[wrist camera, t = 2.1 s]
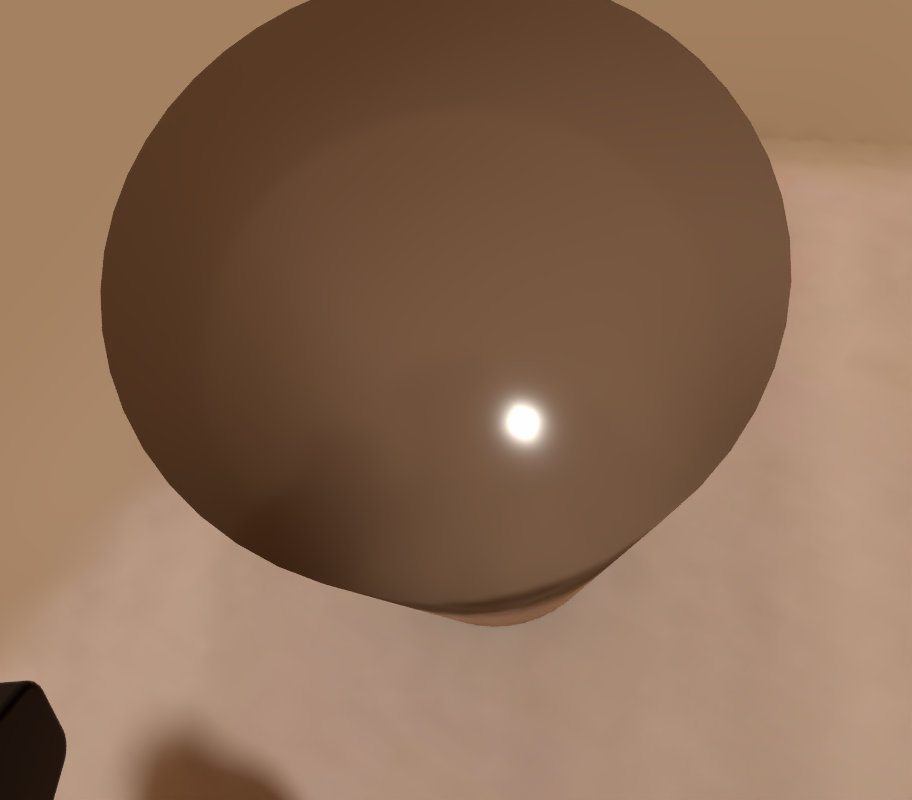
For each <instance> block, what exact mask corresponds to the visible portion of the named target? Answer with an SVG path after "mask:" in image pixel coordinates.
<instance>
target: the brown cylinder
mask: <svg viewBox="0 0 912 800" xmlns="http://www.w3.org/2000/svg"><path fill="white" fill-rule="evenodd" d="M790 287H791V262H790V237H789V232H788V226H787V221H786V216H785V210H784V205H783V199H782V195H781V192H780V189H779V187H778V184H777V181H776V178H775V175H774V172H773V169H772V166H771V163H770V160H769V158H768V156H767V154H766V152H765V150H764V148H763V146H762V144H761V142H760V140H759V138H758V136H757V134H756V132H755V130H754V128H753V126H752V124H751V122H750V121H749V120H748V118H747V117H746V115H745V114H744V112H743V111H742V110H741V108H740V107H739V105H738V104H737V102H736V101H735V99H734V98H733V97H732V95H731V94H730V92H729V91H728V90H727V88H726V87H725V86H724V85H723V84H722V83H721V82H720V81H719V80H718V79H717V77H715V75H714V74H713V73H712V72H711V71H710V70H709V69H708V68H707V67H706V66H705V64H704V63H702V61H701V60H700V59H699V58H697V57H696V56H695V55H694V54H693V53H691V52H690V51H689V50H688V49H687V48H685V47H684V46H683V45H682V44H680V43H679V42H678V41H677V40H676V39H675V38H673V37H672V36H671V35H670V34H668V33H667V32H665V31H664V30H662V29H661V28H659V27H658V26H656V25H654V24H653V23H651V22H650V21H648V20H647V19H645V18H643V17H642V16H640V15H639V14H637V13H635V12H634V11H632V10H629V9H627V8H625V7H623V6H621V5H619V4H617V3H615V2H612V1H611V0H310V1H308V2H305V3H303V4H301V5H299V6H296V7H294V8H292V9H290V10H288V11H286V12H284V13H283V14H281V15H279V16H277V17H276V18H274V19H272V20H270V21H268V22H267V23H265V24H264V25H261V26H260V27H258V28H256V29H255V30H253V31H252V32H251V33H249V34H248V35H246V36H245V37H244V38H242V39H241V40H240V41H238V42H237V43H235V44H234V45H233V46H231V47H230V48H229V49H227V50H226V51H224V52H223V53H222V54H221V55H220V56H219V57H218V58H216V60H214V61H213V62H212V63H211V64H210V65H209V66H208V67H206V68H205V69H204V70H203V71H202V72H201V73H200V74H199V75H198V76H197V77H195V78H194V80H193V81H192V82H191V83H190V84H189V85H188V86H187V88H186V89H185V90H184V91H183V92H182V93H181V94H180V95H179V96H178V98H177V99H176V100H175V101H174V102H173V103H172V104H171V106H170V107H169V108H168V109H167V111H166V112H165V114H164V115H163V116H162V118H161V119H160V121H159V122H158V124H157V125H156V126H155V128H154V129H153V131H152V132H151V134H150V135H149V137H148V138H147V139H146V141H145V143H144V145H143V147H142V149H141V151H140V152H139V154H138V156H137V158H136V160H135V162H134V164H133V166H132V168H131V169H130V171H129V173H128V175H127V178H126V180H125V183H124V186H123V188H122V191H121V194H120V196H119V199H118V202H117V205H116V207H115V210H114V212H113V217H112V221H111V225H110V229H109V234H108V238H107V242H106V246H105V251H104V260H103V272H102V281H101V311H102V331H103V337H104V342H105V347H106V353H107V358H108V363H109V369H110V373H111V376H112V378H113V381H114V384H115V387H116V390H117V393H118V396H119V399H120V402H121V405H122V408H123V410H124V412H125V414H126V416H127V418H128V420H129V422H130V424H131V426H132V428H133V430H134V432H135V434H136V435H137V437H138V439H139V441H140V443H141V445H142V447H143V449H144V450H145V452H146V453H147V454H148V456H149V457H150V458H151V460H152V461H153V463H154V464H155V465H156V467H157V468H158V469H159V471H160V472H161V474H162V475H163V476H164V478H165V479H166V481H167V482H168V483H169V484H170V485H171V486H172V487H173V488H174V489H175V491H176V492H177V493H178V494H179V495H180V496H181V497H182V498H183V499H184V500H185V501H186V502H187V503H188V504H189V505H190V506H191V507H192V508H193V509H194V510H195V511H196V512H197V513H198V514H199V515H200V516H201V517H203V518H204V519H205V520H206V521H208V522H209V523H210V524H212V525H213V526H214V527H216V528H217V529H218V530H220V531H221V532H222V533H224V534H225V535H226V536H228V537H229V538H230V539H232V540H233V541H234V542H235V543H237V544H239V545H240V546H242V547H244V548H246V549H248V550H249V551H251V552H253V553H255V554H257V555H258V556H260V557H262V558H264V559H266V560H267V561H269V562H271V563H273V564H275V565H276V566H278V567H281V568H284V569H286V570H289V571H291V572H294V573H297V574H299V575H302V576H305V577H307V578H310V579H312V580H315V581H318V582H320V583H323V584H326V585H330V586H333V587H337V588H341V589H344V590H348V591H352V592H355V593H359V594H363V595H366V596H370V597H373V598H377V599H381V600H384V601H388V602H392V603H395V604H399V605H402V606H406V607H410V608H413V609H417V610H421V611H424V612H428V613H432V614H435V615H439V616H442V617H446V618H450V619H453V620H457V621H461V622H465V623H469V624H474V625H480V626H491V627H494V626H510V625H515V624H521V623H525V622H528V621H531V620H534V619H537V618H540V617H542V616H544V615H546V614H548V613H550V612H552V611H554V610H555V609H557V608H558V607H560V606H561V605H563V604H564V603H566V602H567V601H568V600H569V599H571V598H572V597H573V596H574V595H575V594H577V593H578V592H579V591H580V590H581V589H582V588H584V587H585V586H586V585H587V584H588V583H589V582H591V581H592V580H593V579H594V578H595V577H596V576H598V575H599V574H600V573H601V572H602V571H604V570H605V569H606V568H607V567H608V566H609V565H611V564H612V563H613V562H614V561H615V560H616V559H618V558H619V557H620V556H621V555H622V554H624V553H625V552H626V551H627V550H628V549H629V548H631V547H632V546H633V545H634V544H635V543H636V542H638V541H639V540H640V539H641V538H642V537H643V536H645V535H646V534H647V533H648V532H649V531H651V530H652V529H653V528H654V527H655V526H656V525H658V524H659V523H660V522H661V521H662V520H663V519H665V518H666V517H667V516H668V515H669V514H670V513H671V512H672V511H673V510H675V509H676V508H677V507H678V506H679V505H680V504H681V503H682V502H684V501H685V500H686V499H687V498H688V497H689V496H690V495H691V494H693V493H694V492H695V491H696V490H697V489H698V488H699V487H700V486H701V485H702V484H703V483H704V481H705V480H706V479H707V478H708V477H709V475H710V474H711V473H712V472H713V471H714V470H715V468H716V467H717V466H718V465H719V464H720V462H721V461H722V460H723V459H724V458H725V456H726V455H727V454H728V453H729V452H730V451H731V449H732V447H733V446H734V444H735V443H736V441H737V439H738V438H739V436H740V435H741V433H742V431H743V430H744V428H745V427H746V425H747V423H748V422H749V420H750V419H751V417H752V415H753V414H754V412H755V411H756V409H757V406H758V404H759V402H760V399H761V397H762V395H763V393H764V390H765V388H766V386H767V383H768V381H769V379H770V377H771V374H772V372H773V370H774V367H775V364H776V360H777V356H778V353H779V349H780V345H781V342H782V338H783V334H784V330H785V327H786V321H787V313H788V304H789V295H790Z"/></svg>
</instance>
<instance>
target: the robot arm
mask: <svg viewBox="0 0 912 800" xmlns="http://www.w3.org/2000/svg"><path fill="white" fill-rule="evenodd" d="M65 756H66V738H65V733H64V731H63V729H62V727H61V725H60V723H59V721H58V719H57V717H56V715H55V713H54V711H53V709H52V707H51V705H50V703H49V701H48V699H47V697H46V695H45V693H44V691H43V690H42V688H41V687H40V686H39V685H38V684H36V683H35V682H34V681H17V682H4V683H0V800H54V796H55V793H56V789H57V786H58V782H59V779H60V775H61V772H62V768H63V765H64V761H65Z"/></svg>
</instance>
